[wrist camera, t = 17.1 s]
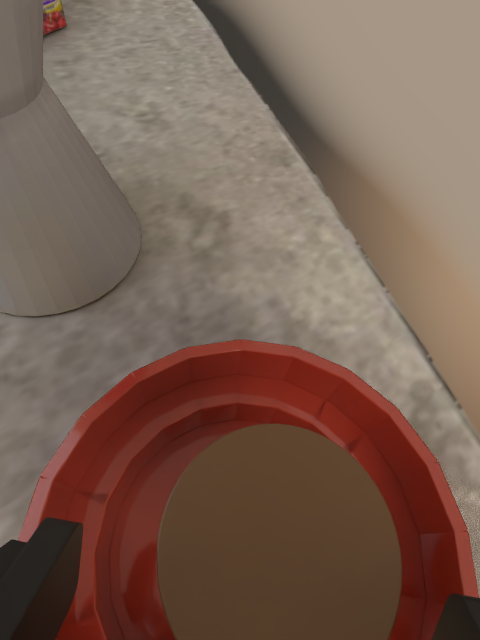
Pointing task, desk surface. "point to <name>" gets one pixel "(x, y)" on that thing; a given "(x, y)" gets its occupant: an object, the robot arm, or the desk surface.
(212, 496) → the tea tin
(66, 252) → the lamp
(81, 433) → the bowl
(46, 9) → the snack box
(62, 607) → the robot arm
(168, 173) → the desk surface
